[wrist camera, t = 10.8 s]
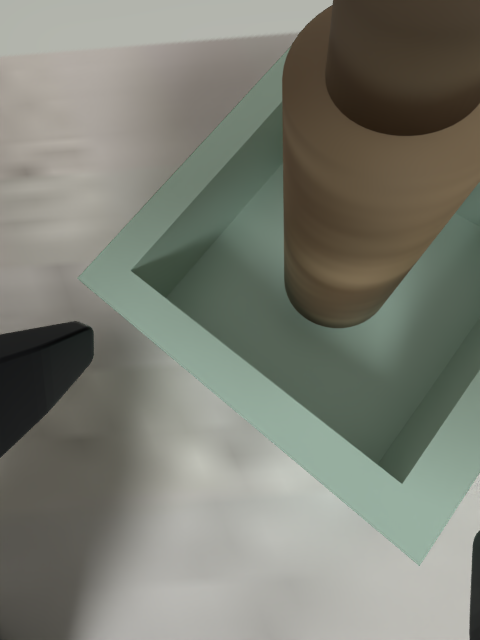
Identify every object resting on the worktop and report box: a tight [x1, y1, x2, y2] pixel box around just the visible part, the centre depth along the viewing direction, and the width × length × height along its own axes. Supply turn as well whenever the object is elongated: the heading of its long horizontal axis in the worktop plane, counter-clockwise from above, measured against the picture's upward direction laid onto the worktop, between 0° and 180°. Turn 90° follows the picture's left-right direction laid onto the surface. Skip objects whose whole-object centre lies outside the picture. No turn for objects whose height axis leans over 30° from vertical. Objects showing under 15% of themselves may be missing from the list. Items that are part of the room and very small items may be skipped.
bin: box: [77, 47, 480, 566], centre depth 16 cm, size 16×16×5 cm
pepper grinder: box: [282, 0, 480, 328], centre depth 12 cm, size 5×5×13 cm
